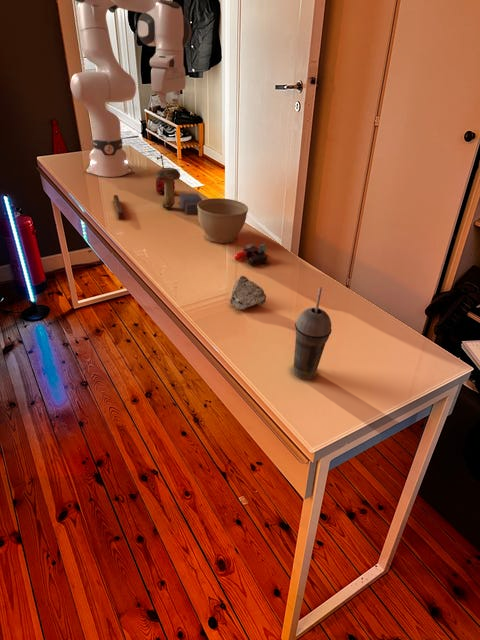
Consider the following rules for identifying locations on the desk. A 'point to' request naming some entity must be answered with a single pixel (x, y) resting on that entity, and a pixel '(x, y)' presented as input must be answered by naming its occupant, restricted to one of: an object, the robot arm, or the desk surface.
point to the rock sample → (246, 294)
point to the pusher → (190, 203)
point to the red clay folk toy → (161, 181)
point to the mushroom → (168, 185)
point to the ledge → (118, 207)
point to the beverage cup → (310, 340)
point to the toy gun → (253, 254)
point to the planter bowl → (221, 218)
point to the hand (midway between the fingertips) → (169, 106)
